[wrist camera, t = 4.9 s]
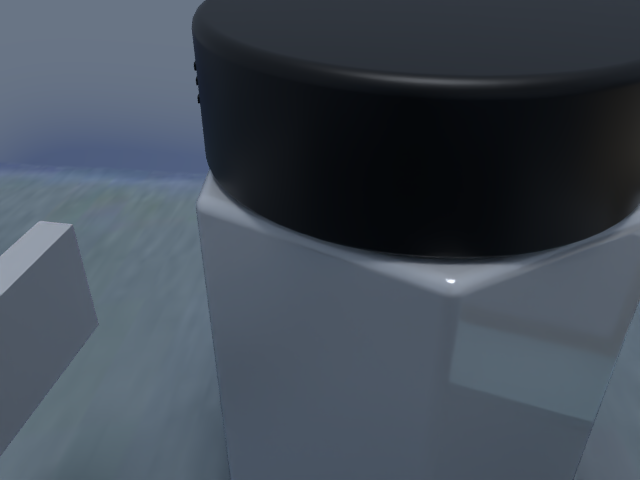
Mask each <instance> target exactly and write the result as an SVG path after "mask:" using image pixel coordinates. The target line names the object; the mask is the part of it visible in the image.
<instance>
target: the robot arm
mask: <svg viewBox="0 0 640 480" xmlns="http://www.w3.org/2000/svg"><path fill="white" fill-rule="evenodd" d="M98 325H99V323H98V319H97V316H96V312H95V308H94V304H93V300H92V296H91V292H90V289H89V285H88V281H87V277H86V273H85V269H84V266H83V262H82V258H81V254H80V250H79V246H78V243H77V239H76V235H75V231H74V227H73V224H64V223H55V222H46V221H39V222H38V223H37V224H35V225H34V226H33V227H32V228H31V229H30V230H29V231H28V232H27V233H25V234H24V235H23V236H22V237H21V238H20V239H19V240H18V241H17V242H16V243H14V244H13V245H12V246H11V247H10V248H9V249H8V250H7V251H6V252H4V253H3V254H2V255H1V256H0V456H1V455H2V453H3V452H4V451H5V449H6V448H7V447H8V445H9V444H10V443H11V441H12V440H13V439H14V437H15V436H16V435H17V433H18V432H19V431H20V429H21V428H22V427H23V425H24V424H25V423H26V421H27V420H28V419H29V417H30V416H31V415H32V413H33V412H34V411H35V409H36V408H37V407H38V405H39V404H40V403H41V401H42V400H43V399H44V397H45V396H46V395H47V393H48V392H49V391H50V389H51V388H52V387H53V385H54V384H55V383H56V381H57V380H58V379H59V377H60V376H61V375H62V373H63V372H64V370H65V369H66V368H67V366H68V365H69V364H70V362H71V361H72V360H73V358H74V357H75V356H76V354H77V353H78V352H79V350H80V349H81V348H82V346H83V345H84V344H85V342H86V341H87V340H88V338H89V337H90V336H91V334H92V333H93V332H94V330H95V329H96V328H97V326H98Z"/></svg>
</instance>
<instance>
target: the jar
mask: <svg viewBox="0 0 640 480" xmlns="http://www.w3.org/2000/svg"><path fill="white" fill-rule="evenodd" d="M192 34H193V43H194V52H195V62H194V69H195V70H197V77H196V84H197V85H198V88H199V94H198V103H200V106H201V116H202V124H203V134H204V143H205V152H206V159H207V162H208V165H209V167H210V168H209V171H208V174H207V176H206V179H205V181H204V184H203V186H202V189H201V191H200V194H199V196H198V199H197V202H196V213H197V221H198V229H199V236H200V244H201V252H202V260H203V268H204V276H205V284H206V291H207V299H208V307H209V315H210V323H211V331H212V339H213V347H214V354H215V362H216V370H217V378H218V386H219V394H220V402H221V409H222V417H223V425H224V433H225V441H226V449H227V457H228V464H229V472H230V480H573V479H574V476H575V474H576V471H577V468H578V465H579V463H580V460H581V457H582V455H583V452H584V449H585V446H586V444H587V441H588V438H589V436H590V433H591V430H592V427H593V425H594V422H595V419H596V417H597V414H598V411H599V408H600V406H601V403H602V400H603V398H604V395H605V392H606V389H607V387H608V384H609V381H610V379H611V376H612V373H613V370H614V368H615V365H616V362H617V360H618V357H619V354H620V351H621V349H622V346H623V343H624V341H625V338H626V335H627V332H628V330H629V327H630V324H631V322H632V319H633V316H634V313H635V311H636V308H637V305H638V303H639V300H640V0H206V1H204V2H203V3H202V4H201V5H200V6H199V7H198V9H197V11H196V12H195V14H194V17H193V21H192Z"/></svg>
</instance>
